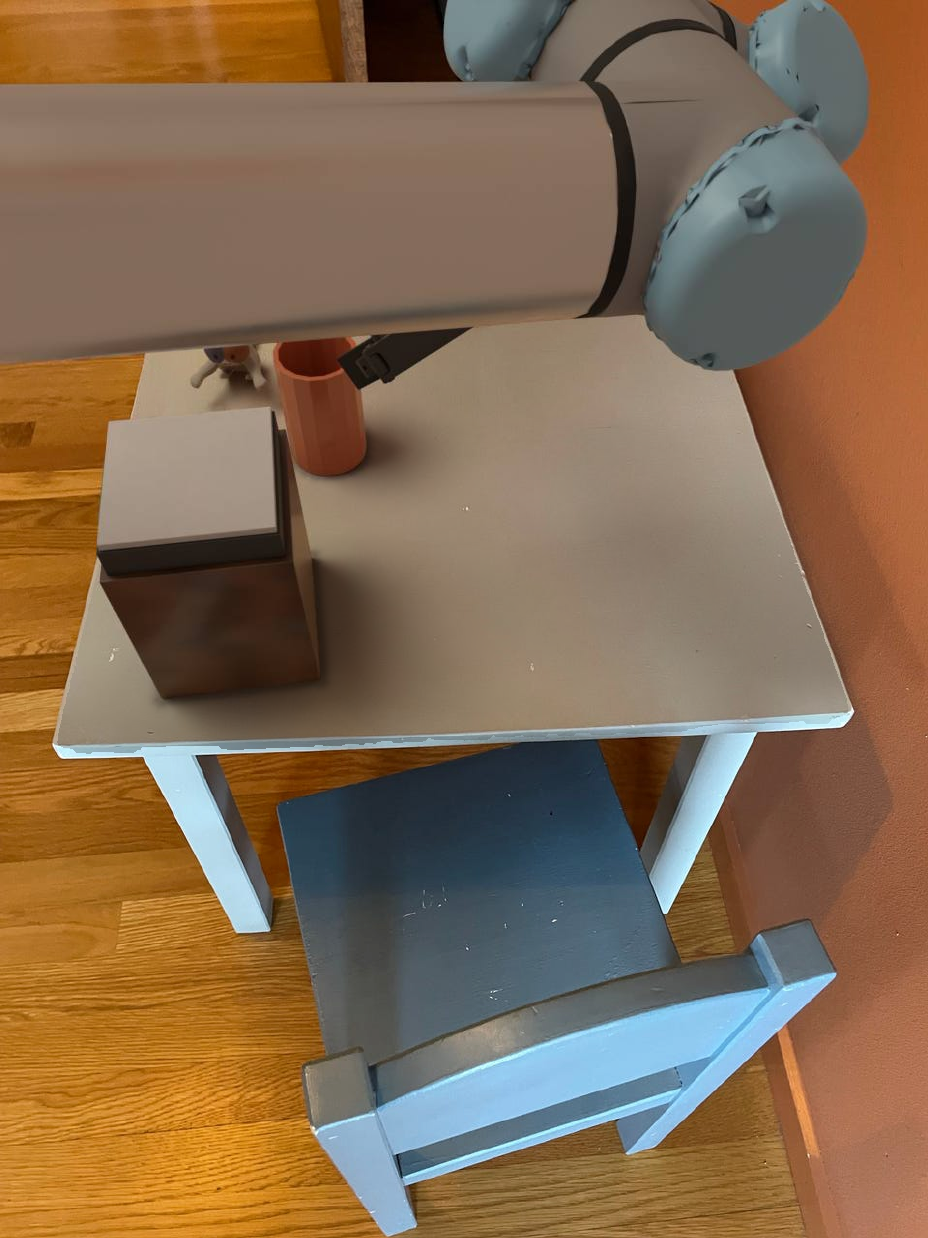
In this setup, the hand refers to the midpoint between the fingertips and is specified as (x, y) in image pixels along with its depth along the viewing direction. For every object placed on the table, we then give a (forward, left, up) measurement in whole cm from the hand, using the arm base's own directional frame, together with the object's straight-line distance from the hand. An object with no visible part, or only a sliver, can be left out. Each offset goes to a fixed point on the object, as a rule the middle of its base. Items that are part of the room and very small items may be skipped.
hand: (407, 325), depth 70 cm
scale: (-17, -12, -4) cm, 21 cm away
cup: (-8, +8, -20) cm, 23 cm away
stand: (-17, -12, -20) cm, 29 cm away
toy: (-16, +22, -20) cm, 33 cm away
